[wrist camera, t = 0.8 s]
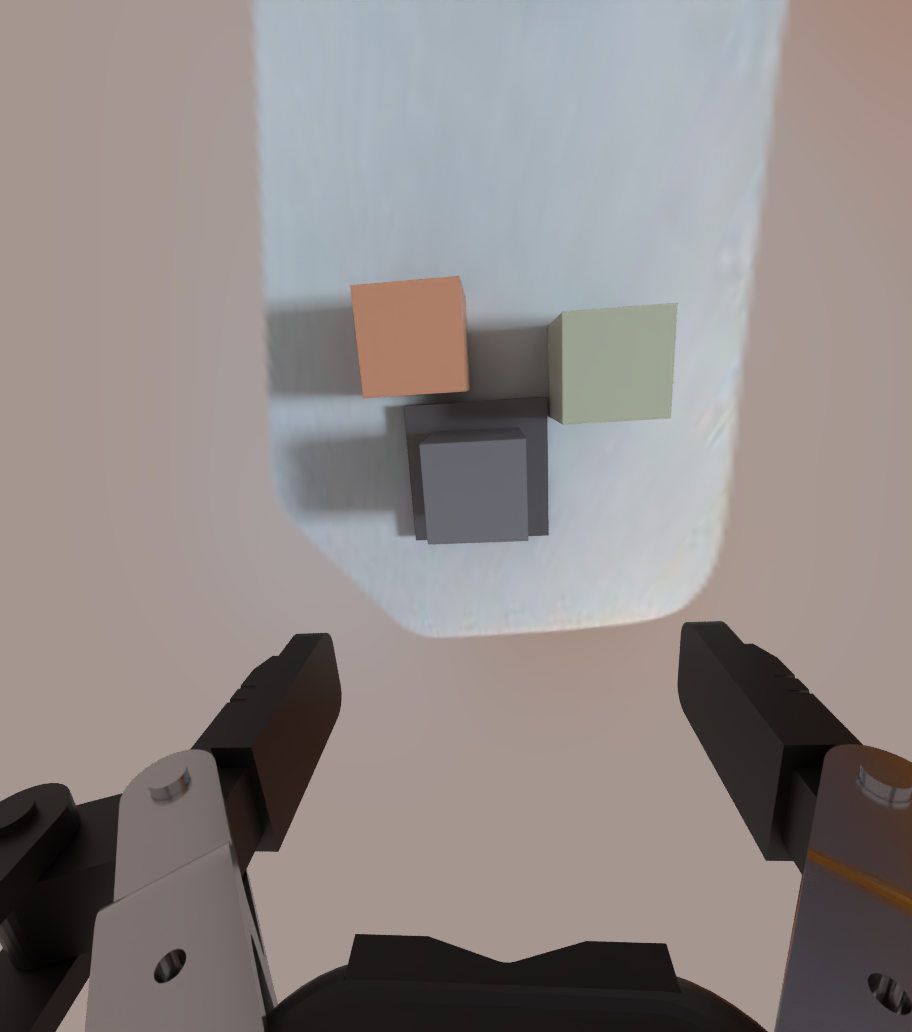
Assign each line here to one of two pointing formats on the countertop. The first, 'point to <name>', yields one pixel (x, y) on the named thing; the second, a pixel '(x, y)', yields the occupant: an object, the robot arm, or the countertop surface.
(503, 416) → the tower base
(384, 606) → the countertop surface
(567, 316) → the brick sage
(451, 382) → the brick terracotta
